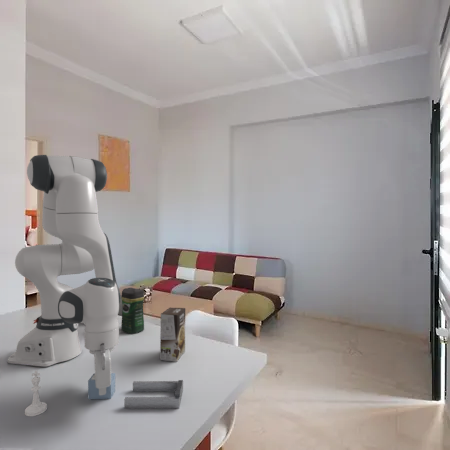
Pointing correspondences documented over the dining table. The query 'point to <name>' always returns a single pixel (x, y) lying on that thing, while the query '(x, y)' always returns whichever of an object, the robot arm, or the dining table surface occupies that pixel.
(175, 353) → the coffee box
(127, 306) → the coffee jar
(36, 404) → the chess piece
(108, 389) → the block
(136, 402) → the grey u-shaped piece
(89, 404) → the dining table surface
